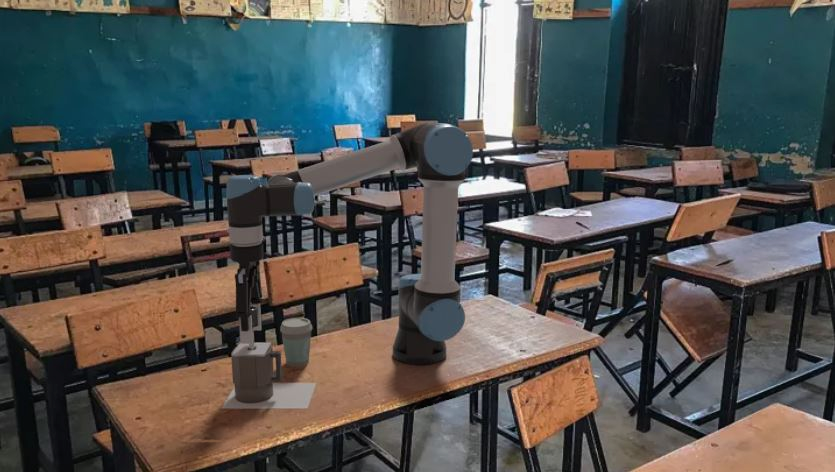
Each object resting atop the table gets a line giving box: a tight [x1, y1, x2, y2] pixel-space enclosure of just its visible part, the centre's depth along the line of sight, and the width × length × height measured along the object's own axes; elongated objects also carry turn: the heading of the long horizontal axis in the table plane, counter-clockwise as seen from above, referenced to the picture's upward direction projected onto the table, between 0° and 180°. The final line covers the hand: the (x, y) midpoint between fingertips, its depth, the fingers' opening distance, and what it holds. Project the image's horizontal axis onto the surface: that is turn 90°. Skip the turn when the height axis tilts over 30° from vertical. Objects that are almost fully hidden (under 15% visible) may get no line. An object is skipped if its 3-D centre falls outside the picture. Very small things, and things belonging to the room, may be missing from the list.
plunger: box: [249, 307, 258, 357], centre depth 162 cm, size 4×4×16 cm
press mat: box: [221, 382, 317, 410], centre depth 165 cm, size 20×14×1 cm
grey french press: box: [230, 342, 283, 403], centre depth 164 cm, size 11×9×12 cm
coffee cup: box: [279, 317, 313, 368], centre depth 183 cm, size 8×8×12 cm
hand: (251, 336), depth 162 cm, fingers open, 8 cm apart
